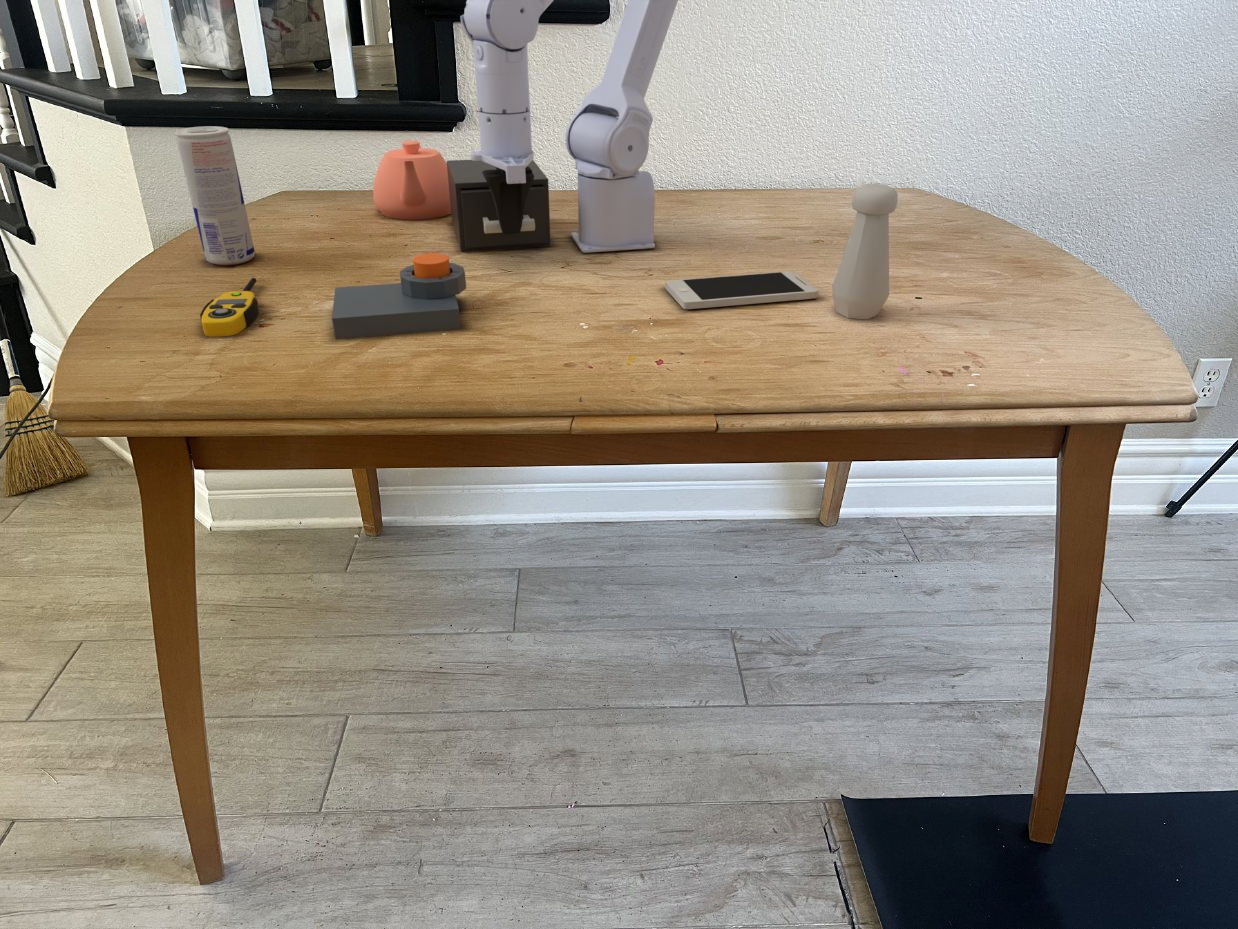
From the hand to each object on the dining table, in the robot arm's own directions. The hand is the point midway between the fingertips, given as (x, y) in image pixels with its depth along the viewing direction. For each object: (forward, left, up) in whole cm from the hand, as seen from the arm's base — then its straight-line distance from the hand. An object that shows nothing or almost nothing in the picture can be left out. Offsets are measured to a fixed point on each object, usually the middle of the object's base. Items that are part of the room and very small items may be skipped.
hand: (511, 232), depth 102 cm
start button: (+10, +13, 0) cm, 17 cm away
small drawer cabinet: (0, -13, -4) cm, 13 cm away
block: (+14, +15, -4) cm, 21 cm away
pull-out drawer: (0, -9, -3) cm, 9 cm away
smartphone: (-23, +16, -4) cm, 29 cm away
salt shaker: (-33, +24, -4) cm, 41 cm away
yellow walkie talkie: (+30, +9, -4) cm, 32 cm away
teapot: (+10, -27, -4) cm, 29 cm away
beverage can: (+33, -9, -4) cm, 34 cm away
